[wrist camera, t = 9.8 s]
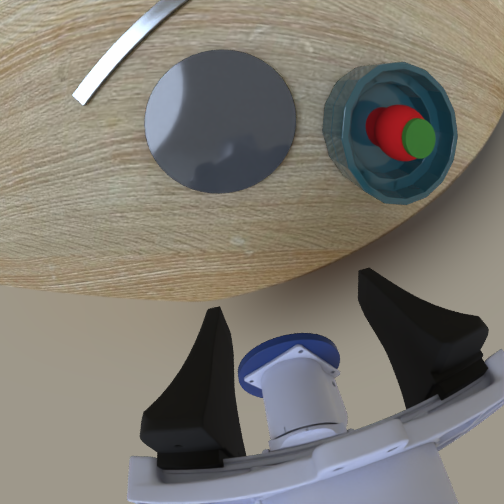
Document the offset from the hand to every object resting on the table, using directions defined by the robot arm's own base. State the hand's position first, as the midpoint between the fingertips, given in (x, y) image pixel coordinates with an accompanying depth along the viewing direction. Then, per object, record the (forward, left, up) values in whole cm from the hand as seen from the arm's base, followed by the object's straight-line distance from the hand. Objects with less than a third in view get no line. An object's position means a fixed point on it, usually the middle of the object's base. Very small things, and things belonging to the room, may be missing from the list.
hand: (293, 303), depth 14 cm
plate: (+8, -3, -9) cm, 13 cm away
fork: (+17, -7, -9) cm, 21 cm away
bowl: (0, -12, -9) cm, 15 cm away
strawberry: (0, -12, -9) cm, 15 cm away
